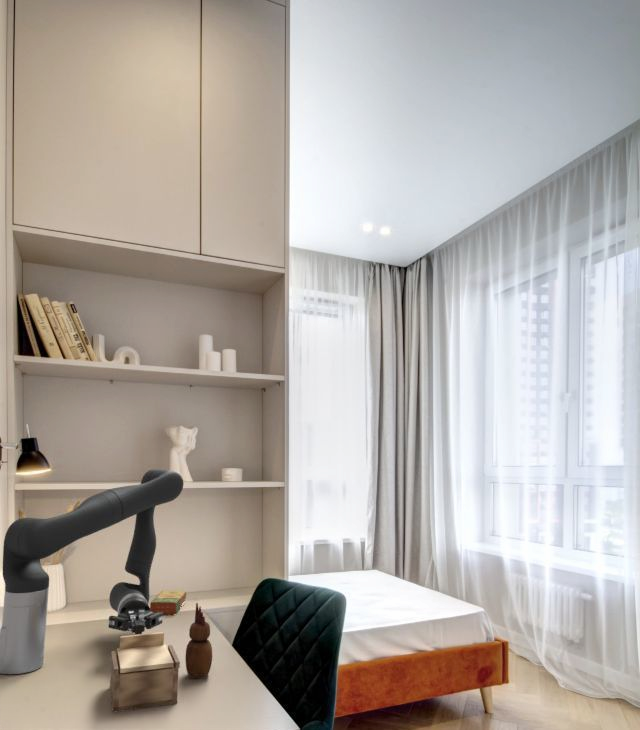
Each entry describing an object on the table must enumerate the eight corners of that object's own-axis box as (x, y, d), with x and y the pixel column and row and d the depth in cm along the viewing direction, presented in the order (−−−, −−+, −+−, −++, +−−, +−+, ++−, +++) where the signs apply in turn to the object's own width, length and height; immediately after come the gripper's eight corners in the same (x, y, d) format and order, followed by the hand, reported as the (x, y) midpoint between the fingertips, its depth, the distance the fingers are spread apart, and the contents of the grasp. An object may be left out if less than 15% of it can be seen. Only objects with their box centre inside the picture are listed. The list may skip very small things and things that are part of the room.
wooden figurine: (183, 671, 134) (186, 602, 136) (209, 669, 135) (211, 600, 138) (186, 682, 127) (189, 609, 130) (213, 679, 129) (215, 607, 131)
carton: (186, 603, 198) (186, 590, 199) (176, 616, 182) (176, 601, 183) (161, 603, 198) (161, 590, 198) (148, 616, 182) (149, 601, 182)
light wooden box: (111, 712, 112) (114, 669, 113) (108, 687, 124) (111, 649, 125) (178, 702, 117) (179, 661, 118) (169, 680, 129) (171, 642, 130)
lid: (120, 673, 114) (121, 655, 114) (116, 652, 126) (117, 636, 126) (173, 666, 117) (174, 649, 118) (165, 647, 129) (165, 631, 130)
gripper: (106, 597, 148) (108, 614, 132) (161, 593, 152) (169, 609, 136) (104, 629, 146) (106, 650, 130) (159, 624, 151) (168, 644, 135)
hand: (138, 629), depth 133 cm, fingers closed
